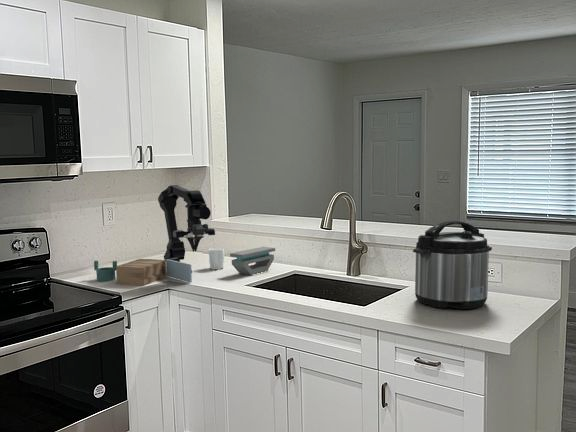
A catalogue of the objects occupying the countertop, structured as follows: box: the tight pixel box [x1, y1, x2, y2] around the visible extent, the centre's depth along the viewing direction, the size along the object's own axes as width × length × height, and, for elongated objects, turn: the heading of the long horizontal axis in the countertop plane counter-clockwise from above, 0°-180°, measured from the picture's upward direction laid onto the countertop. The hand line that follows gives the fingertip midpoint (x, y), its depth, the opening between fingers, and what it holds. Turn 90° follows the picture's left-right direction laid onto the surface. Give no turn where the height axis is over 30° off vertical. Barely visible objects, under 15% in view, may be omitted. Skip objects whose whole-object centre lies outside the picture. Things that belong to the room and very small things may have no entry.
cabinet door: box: [166, 259, 193, 283], centre depth 269 cm, size 20×2×8 cm, turn 43°
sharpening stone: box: [229, 246, 276, 276], centre depth 285 cm, size 25×8×11 cm, turn 143°
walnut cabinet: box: [115, 258, 167, 287], centre depth 269 cm, size 20×14×8 cm
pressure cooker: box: [412, 220, 493, 310], centre depth 224 cm, size 30×28×32 cm
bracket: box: [93, 260, 118, 283], centre depth 271 cm, size 9×9×9 cm
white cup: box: [208, 247, 225, 270], centre depth 296 cm, size 8×8×10 cm
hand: (194, 251), depth 270 cm, fingers closed
